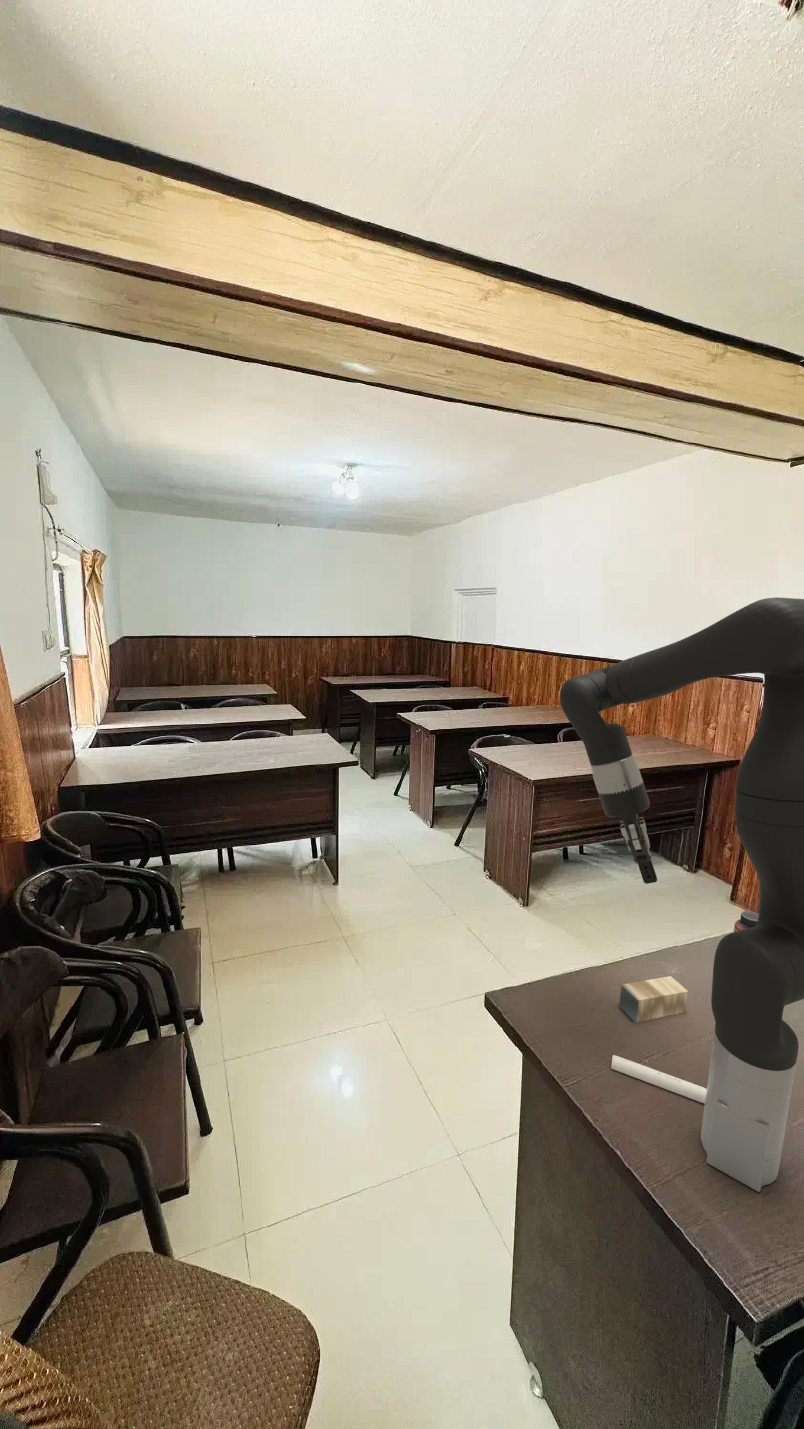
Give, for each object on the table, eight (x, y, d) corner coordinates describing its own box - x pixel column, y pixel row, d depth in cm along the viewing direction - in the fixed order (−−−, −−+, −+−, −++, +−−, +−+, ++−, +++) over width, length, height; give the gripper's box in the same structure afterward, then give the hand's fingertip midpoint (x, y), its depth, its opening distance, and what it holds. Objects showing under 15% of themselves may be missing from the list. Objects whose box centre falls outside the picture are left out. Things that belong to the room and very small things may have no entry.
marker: (738, 1109, 84) (740, 1096, 83) (739, 1120, 82) (741, 1106, 81) (612, 1062, 92) (613, 1050, 92) (610, 1071, 90) (612, 1059, 90)
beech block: (636, 1000, 100) (687, 991, 103) (621, 984, 104) (670, 976, 107) (634, 1022, 101) (685, 1012, 103) (619, 1006, 105) (668, 996, 108)
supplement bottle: (753, 956, 121) (760, 909, 119) (768, 974, 115) (775, 924, 113) (724, 954, 121) (731, 907, 119) (738, 972, 116) (745, 922, 114)
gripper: (644, 788, 87) (678, 893, 87) (640, 771, 100) (670, 863, 99) (596, 799, 90) (629, 901, 90) (598, 781, 102) (627, 871, 102)
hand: (650, 881), depth 95 cm, fingers closed
